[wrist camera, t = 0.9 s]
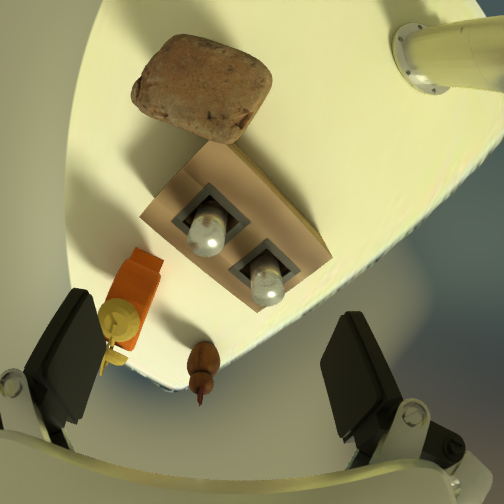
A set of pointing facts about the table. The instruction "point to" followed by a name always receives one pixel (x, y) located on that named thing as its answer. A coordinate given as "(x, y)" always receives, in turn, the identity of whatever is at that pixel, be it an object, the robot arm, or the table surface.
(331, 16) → the table surface
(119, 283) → the alarm clock
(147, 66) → the block
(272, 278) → the peg
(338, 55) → the table surface
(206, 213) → the peg
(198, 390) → the wooden figurine
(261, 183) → the socket block
